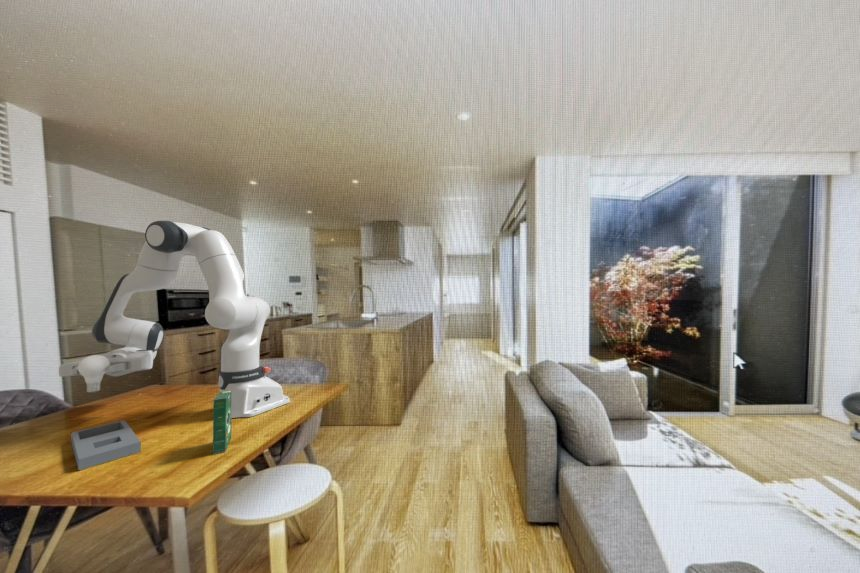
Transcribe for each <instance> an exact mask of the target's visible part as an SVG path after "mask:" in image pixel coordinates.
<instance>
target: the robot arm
mask: <svg viewBox="0 0 860 573" xmlns="http://www.w3.org/2000/svg"><path fill="white" fill-rule="evenodd" d="M144 237H145V242H144V244H143V246H142V248H141V250H140V253H139V256H138V259H137V262H136V266H135V268H134V269H133V271H131V272H130V273H127V274H124V275H122V276H121V278H119V280H118V281H117V283H116V284H115V287H114V288H113V290H112V293H111V294H110V296H109V297H108V300H107V302H106V304H105V307H104V308H103V311H102V313H101V314H100V316H99V317H98V319H97V320H96V322H95V323H94V325H93V327H92V330H91V335H92V337H93V338H94V340H96V342H98V343H99V344H109V345H122V346H124V347H121V348H117V349H113V350H110V351H108V352H106V353H105V354H104V355H103V356H105V357H107V358H108V359H109V361H110V366H107V367H106V372H105V374H104V375H107V376H110V377H121V376H124V375H128V374H129V375H130V374H131V373H134V372H143V371H147V370H151V369H153V366H154V360H155V358H156V356H157V353H158V349H160V348H161V346H162V344H163V341H164V339H165V330H164V328H163V326H162V325H161V324H160V322H155V321H150V320H144V319H138V318H131V317H127V316H125V315H124V311H125V310H126V307H127V305H128V303H129V301H130V299H131V297H132V295H134V294H135V293H139V292H140V293H141V292H143V293H144V292H152V291H159V290H163V289H165V288H168V287H169V286H171V285H173V284H174V283H175V281H176V279H177V276H178V273H179V269H180V264H181V263H180V262H181V260H182V258H183V257H185V256H193V257H195V259H196V260H197V263H198V266H199V267H200V270H201V273H202V274H203V278H204V280H205V281H206V285H207V288H208V295H209V298H208V299H209V300H208V301H209V302H208V303H207V306H206V307H205V311H204V317H205V320H206V322H207V323H208V324H209V325H210V326H211V327H213V328H216V329H221V330H229V333H228V336H227V338H226V339H225V341H224V342H223V344H222V346H221V349H220V355H221V357H220V371H219V373H218V374H219V375H218V376H219V377H218V387H219V393H220V392H223V391H231V419H235V418H250V417H251V418H252V417H255V416H257V415H260V414H263V413H266V412H269V411H270V410H273V409H276V408H279V407H281V406H284V405H287V404H289V403H291V398H290V397H289V396H288V395H285V394H284V391H283V387H282V385H281V384H280V383H278V382H276V381H275V380H274V379H272V378H270V377H268V376H266V375H265V374H270V372H271V369H272V368H270V367H269V366H264V367H263V366H261V365H260V346H261V340H262V339H261V338H262V336H263V335H262V334H263V331H264V327H265V323H266V321H267V320H268V318H269V316H270V314H271V309H270V305H269V303H268V302H267V301H266V300H264V299H262V298H260V297H257V296H253V295H252V296H249V295H246V294H245V291H244V285H243V284H244V281H245V273H244V271H243V268H242V265H241V263H240V262H239V259H238V257H237V255H236V253H235V250H234V249H233V247H232V245H231V244H230V242H229V241H228V239H227V238H226V236H225V235H224V234H223V233H222V232H220V231H218V230H214V229H210V228H208V227H204V226H198V225H194V224H190V223H185V222H180V221H179V222H178V221H171V220H155V221H153V222H151V223H149V224H148V225H147V227H146V229H145V233H144ZM81 361H82V360H77V361H72V362H71V361H70V362H67V363H63V364H60V365H59V367H58V375H59V377H61V378H64V377H75V376H82V375H81V374H80V373H79V372H78V364H79V363H80V362H81Z"/></svg>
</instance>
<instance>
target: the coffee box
mask: <svg viewBox="0 0 860 573" xmlns="http://www.w3.org/2000/svg"><path fill="white" fill-rule="evenodd" d="M212 401H213V404H212V406H213V408H212V409H213V414H212V416H213V417H212V418H213V419H212V455H216V454H222V453H224V452H226V451H227V449H228V446H229V445H230V442H231V439H232V418H231V391H223V392H220V391H219V393H218V394H217V395H216V396H215V397H214V398H213V400H212Z"/></svg>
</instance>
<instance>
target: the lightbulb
mask: <svg viewBox="0 0 860 573" xmlns="http://www.w3.org/2000/svg"><path fill="white" fill-rule="evenodd" d="M80 361H81V362H80V363H79V364H78V372H79V373H80V374H81V375H80V376H82V377H83V379H84V381H85V383H86V392H87V393H90V394H94V393H95V394H96V393H97V392H99V391H100V390H101V382H102V380H103V377H104V375H106V374H105V372H106V367H107V366H110V361H109V359H108V358H107V357H105V356H104V355H102V354H91V355H89V356H86V357H84V358H82V359H81V360H80Z"/></svg>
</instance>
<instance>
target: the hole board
mask: <svg viewBox="0 0 860 573" xmlns="http://www.w3.org/2000/svg"><path fill="white" fill-rule="evenodd" d="M70 435H71V438H70V439H71V446H72V451H73V454H74V459H75V462H76V466H77V470H80V471H83V470H86V469H85V468H87V469H90V468H92V467H91V466H93V467H96V466H99V465H98V464H100V465H103V464H105V462H106V463H109V462H108V461H110V462H113V461H115V459H116V460H119V459H123V458H125V457H128V456H129V457H130V456H133V455H135V453H136V454H138V453H141V452H142V441H141V440H140V438H139V437H138V436H137V435H136V433H135V432H134V431H133V430H132V428H131V427H130V425H129V424H128V423H127V422H126V420H124V419H122V420H119V421H114V422H113V421H112V422H109V423H106V424H101V425H97V426H92V427H90V428H85V429H80V430H76V431H72V432H71V434H70ZM112 460H113V461H112ZM102 463H103V464H102ZM95 465H96V466H95ZM89 467H90V468H89ZM82 469H83V470H82Z"/></svg>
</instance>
